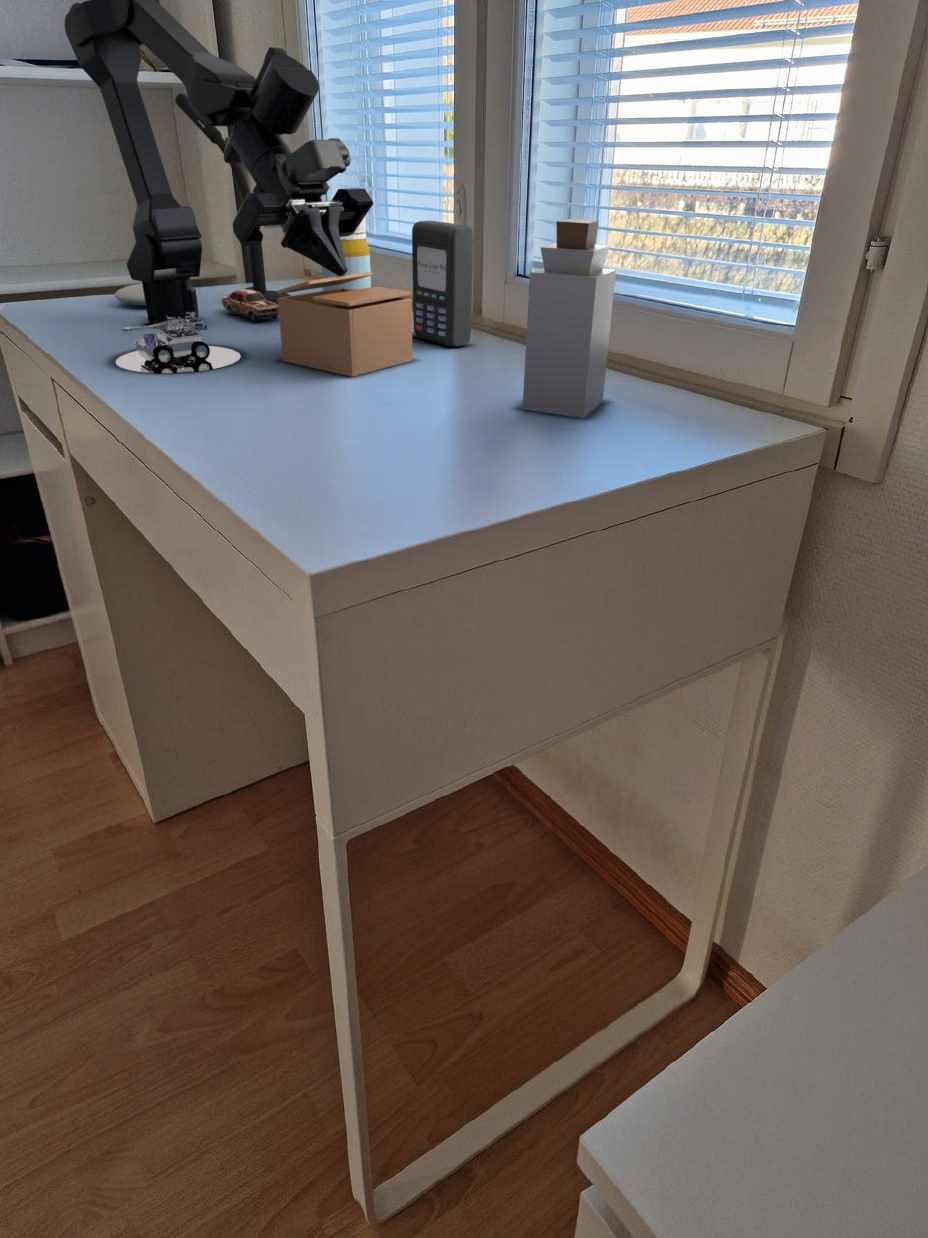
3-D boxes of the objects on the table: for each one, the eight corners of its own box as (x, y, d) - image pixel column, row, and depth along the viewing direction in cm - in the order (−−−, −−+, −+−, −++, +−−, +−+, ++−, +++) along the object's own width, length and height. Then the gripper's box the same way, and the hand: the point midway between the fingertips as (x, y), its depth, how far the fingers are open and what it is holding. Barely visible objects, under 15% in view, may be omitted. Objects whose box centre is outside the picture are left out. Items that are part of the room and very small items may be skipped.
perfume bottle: (602, 402, 91) (621, 220, 82) (583, 418, 86) (601, 225, 77) (544, 394, 94) (556, 216, 85) (522, 409, 88) (532, 221, 79)
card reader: (409, 337, 118) (407, 220, 111) (431, 334, 120) (430, 219, 113) (450, 349, 112) (451, 226, 105) (473, 345, 115) (475, 225, 107)
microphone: (263, 284, 156) (245, 95, 141) (302, 304, 139) (286, 91, 124) (199, 288, 152) (173, 92, 137) (231, 309, 134) (205, 88, 119)
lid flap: (277, 294, 101) (277, 290, 101) (341, 284, 108) (340, 280, 108) (309, 284, 97) (308, 280, 97) (373, 274, 105) (372, 271, 104)
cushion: (207, 300, 141) (205, 281, 139) (165, 312, 131) (161, 292, 129) (146, 295, 144) (143, 276, 142) (100, 307, 134) (96, 287, 132)
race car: (254, 319, 135) (248, 288, 133) (284, 319, 126) (278, 286, 124) (225, 322, 133) (219, 291, 131) (253, 322, 123) (247, 289, 122)
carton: (282, 361, 105) (276, 290, 101) (344, 346, 112) (341, 280, 108) (352, 377, 99) (348, 302, 94) (412, 360, 106) (411, 291, 102)
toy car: (100, 353, 106) (91, 309, 103) (213, 340, 114) (207, 298, 111) (139, 379, 96) (130, 330, 93) (260, 362, 104) (255, 317, 101)
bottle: (376, 320, 128) (372, 212, 121) (367, 329, 122) (362, 216, 115) (331, 319, 129) (325, 211, 121) (320, 328, 123) (312, 215, 115)
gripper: (236, 107, 88) (317, 230, 88) (358, 112, 101) (429, 219, 101) (199, 187, 96) (274, 300, 96) (317, 183, 109) (383, 282, 109)
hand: (343, 273), depth 100 cm, fingers closed, pressing on lid flap
